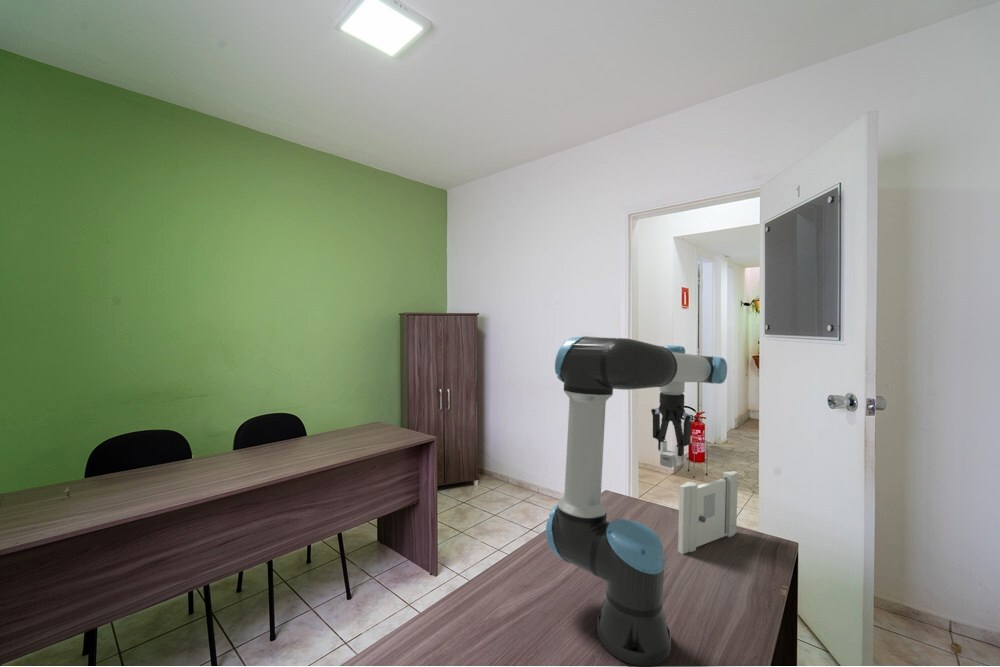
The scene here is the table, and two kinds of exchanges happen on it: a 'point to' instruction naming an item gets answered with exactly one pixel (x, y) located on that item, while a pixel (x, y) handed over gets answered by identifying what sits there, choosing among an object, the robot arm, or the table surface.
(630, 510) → the table surface
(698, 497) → the door
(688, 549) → the door frame
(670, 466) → the usb wall charger
